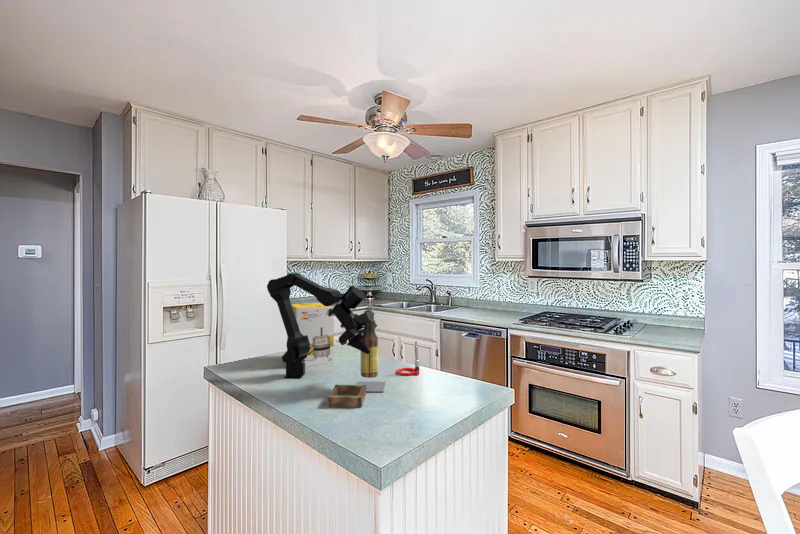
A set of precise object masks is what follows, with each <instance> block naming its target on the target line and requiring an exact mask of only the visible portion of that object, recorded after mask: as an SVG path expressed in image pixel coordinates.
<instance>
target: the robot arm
mask: <svg viewBox="0 0 800 534" xmlns="http://www.w3.org/2000/svg"><path fill="white" fill-rule="evenodd" d="M295 286H296V287H297V288H299V289H301V290H302V291H305V292H306V293H308V294H310V295H312V296H314V297H315V298H316V300H317V302H318V303H321V304H323V305H324V306H334V308H332V309H329V313H328V316H334V317H336V318H337V320H338V321H339V323H340V325H339V326H340V328H341V329H343V328H344V329H345V331H343V332H342V333H341V334H340V336H339V337H338V343H339V344H340V345H341V346H344V345H346V346H348V347H349V346H350V347H352V348H354V349H356V350H359V351H360V352H361V351H362V352H364V353H366V354H369V353H370V351H369V349H368V348H367V346H366V345H365V343H364V342H363V340H362V335H363V333H364V322H367V321H369V320H371V319H374V320H375V317H374V316H375V312H374V311H373V310H371V309H369V308H368V309H367V310H364V312H363V313H361V314H359V313H354V312H353V311H352V310H356V309H357V308H358V306H359V305H360V304H362V302H363V301H364V300H365V299H366V294H365V293H364V292H363V290H361V289H359V288H357V287H355V285H350V286H349V287H348V289H347V290H346V291H345V293H342V292H341V291H340V290H338V289H336V288H331V287H327V286H323V285H320V284H319V283H317V282H315V281H313V280H311V279H309V278H307V277H305V276H303V275H301V274H300V273H298V272H290V273H287V274H286V275H284V276H281V277H277V278H275V279H274V278H273V279H270V280H269V281H268V283H267V284H266V288H267V292H268V293H269V296H270V297H271V298H272V299H273V301H275V303H276V304H277V307H278V308H277V309H278V310H279V314H280V317H281V319H282V322H283V326H284V329H285V333H286V336H287V340H286V352H285V353H284V354H282V356H281V360H282V363H285V375H284V376H283V377H284V379H301V378H302V377H304V375H305V374H306V367H305V363H304V359H305V358H307V355H308V353H309V351H310V345H311V344H310V342H309V340H308V336H307V335H305V336H303V335H302V334H301V332H300V330H299V327H298V324H297V321H296V317H295V314H294V311H293V308H292V305H291V304H292V303H291V299H290V297H291V293H292V292H291V288H293V287H295ZM377 327H378V325H377V323H376V322H375V329H376V328H377Z"/></svg>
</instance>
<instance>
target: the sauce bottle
mask: <svg viewBox="0 0 800 534" xmlns="http://www.w3.org/2000/svg"><path fill="white" fill-rule="evenodd" d="M375 323H376V319H375V318H374V319H371V320H369V321H367V322H364V326H363V327H364V333H363V335H362V340H363V342H364V343H365V345H366V346H367V348H368V349H369V351H370V353H369V354H366V353H364V352H362V351H360V376H361V377H362V378H369V379H371V378H377V377H378V375H379V343H378V341H379V337H378V336H377V334H376V331H375V329H376V328H375Z"/></svg>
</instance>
